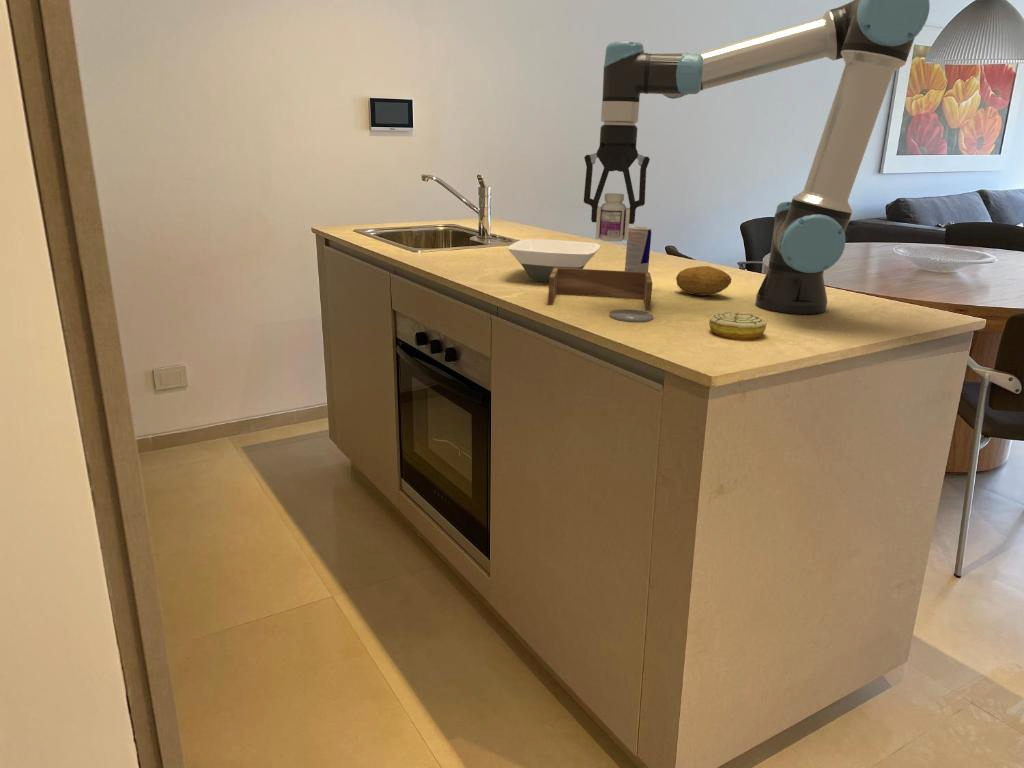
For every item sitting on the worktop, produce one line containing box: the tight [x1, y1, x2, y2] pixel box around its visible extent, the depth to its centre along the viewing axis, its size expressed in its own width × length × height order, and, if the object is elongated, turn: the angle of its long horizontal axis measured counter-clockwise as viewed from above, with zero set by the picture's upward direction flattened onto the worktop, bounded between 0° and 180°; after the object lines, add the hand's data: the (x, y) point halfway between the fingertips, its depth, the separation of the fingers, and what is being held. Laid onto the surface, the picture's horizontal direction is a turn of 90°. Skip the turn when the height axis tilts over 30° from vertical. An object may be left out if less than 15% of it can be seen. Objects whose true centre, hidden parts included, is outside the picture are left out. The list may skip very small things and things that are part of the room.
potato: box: [675, 265, 732, 296], centre depth 183 cm, size 9×13×7 cm
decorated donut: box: [708, 311, 768, 340], centre depth 148 cm, size 10×11×4 cm
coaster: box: [609, 308, 654, 323], centre depth 159 cm, size 9×9×1 cm
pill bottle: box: [599, 192, 627, 242], centre depth 163 cm, size 5×5×10 cm
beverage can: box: [624, 225, 652, 272], centre depth 186 cm, size 6×6×15 cm
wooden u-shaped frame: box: [547, 267, 653, 312], centre depth 172 cm, size 14×22×6 cm, turn 83°
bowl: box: [507, 238, 602, 283], centre depth 197 cm, size 22×23×8 cm
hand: (611, 238), depth 165 cm, fingers closed on pill bottle, 5 cm apart
